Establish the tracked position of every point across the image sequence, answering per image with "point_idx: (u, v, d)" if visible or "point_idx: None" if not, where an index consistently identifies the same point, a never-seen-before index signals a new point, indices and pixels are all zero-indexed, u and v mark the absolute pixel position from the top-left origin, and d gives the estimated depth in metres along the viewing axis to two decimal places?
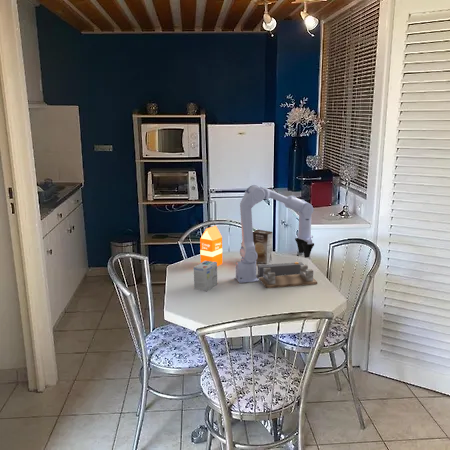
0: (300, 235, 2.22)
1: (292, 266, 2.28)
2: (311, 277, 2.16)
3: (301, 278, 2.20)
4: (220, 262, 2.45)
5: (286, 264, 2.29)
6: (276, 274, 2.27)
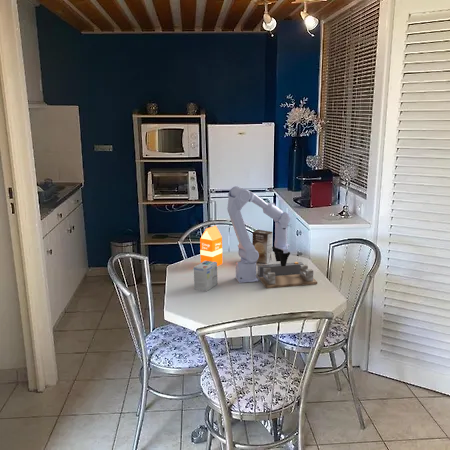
0: (276, 244, 2.24)
1: (292, 266, 2.28)
2: (311, 277, 2.16)
3: (301, 278, 2.20)
4: (220, 262, 2.45)
5: (286, 264, 2.29)
6: (276, 274, 2.27)
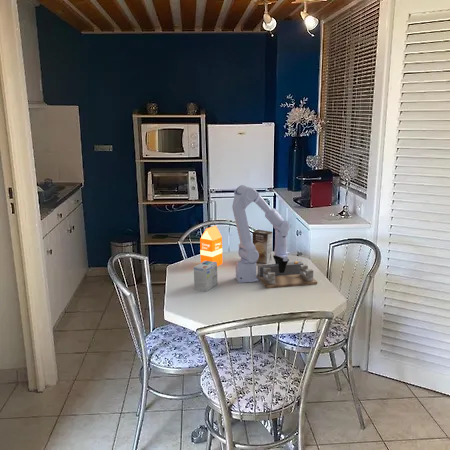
0: (276, 252, 2.25)
1: (292, 266, 2.28)
2: (311, 277, 2.16)
3: (301, 278, 2.20)
4: (220, 262, 2.45)
5: None
6: (276, 274, 2.27)
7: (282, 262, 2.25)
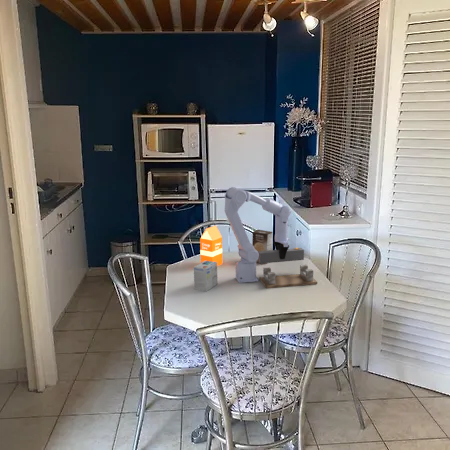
0: (277, 238, 2.23)
1: (292, 252, 2.26)
2: (311, 277, 2.16)
3: (301, 278, 2.20)
4: (220, 262, 2.45)
5: None
6: (277, 260, 2.25)
7: (282, 248, 2.23)
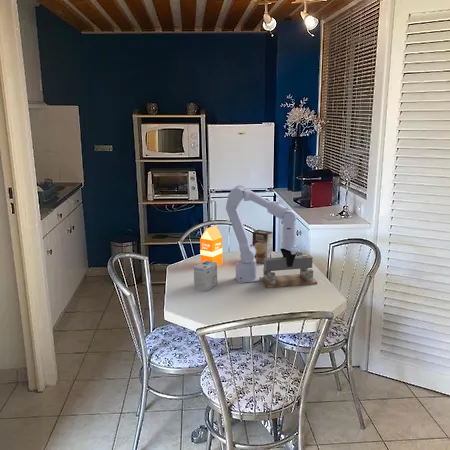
0: (284, 245, 2.13)
1: (300, 259, 2.16)
2: (311, 277, 2.16)
3: (301, 278, 2.20)
4: (220, 262, 2.45)
5: None
6: (284, 268, 2.15)
7: (290, 255, 2.14)
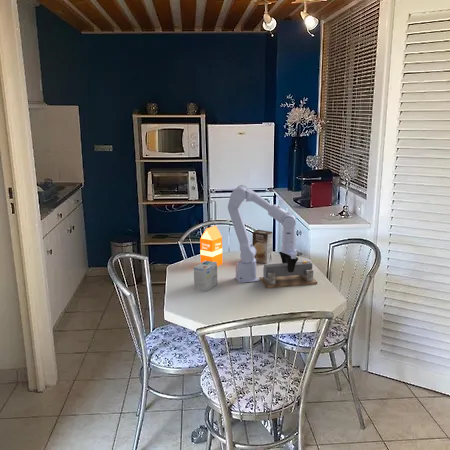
0: (284, 249, 2.14)
1: (300, 265, 2.16)
2: (311, 277, 2.16)
3: (301, 278, 2.20)
4: (220, 262, 2.45)
5: None
6: (283, 274, 2.16)
7: (291, 261, 2.12)
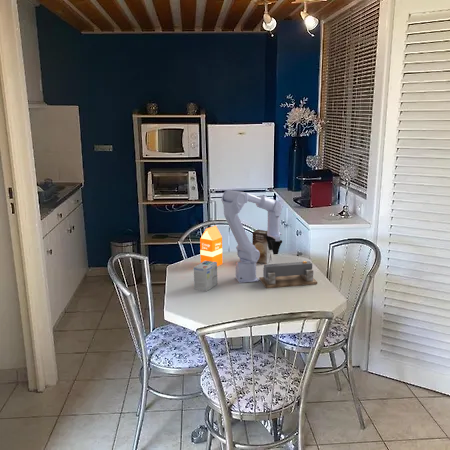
0: (269, 232, 2.26)
1: (300, 265, 2.16)
2: (311, 277, 2.16)
3: (301, 278, 2.20)
4: (220, 262, 2.45)
5: (294, 263, 2.17)
6: (283, 274, 2.16)
7: (275, 243, 2.24)
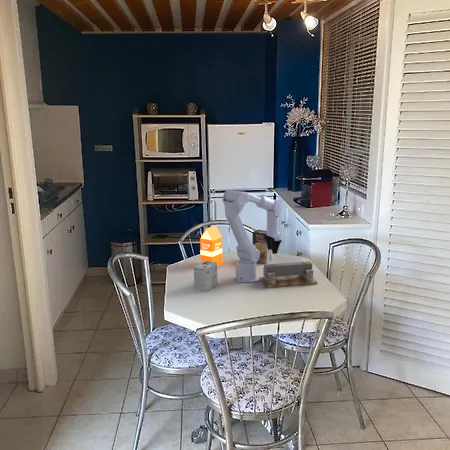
0: (268, 232, 2.26)
1: (300, 265, 2.16)
2: (311, 277, 2.16)
3: (301, 278, 2.20)
4: (220, 262, 2.45)
5: (294, 263, 2.17)
6: (283, 274, 2.16)
7: (275, 243, 2.25)
